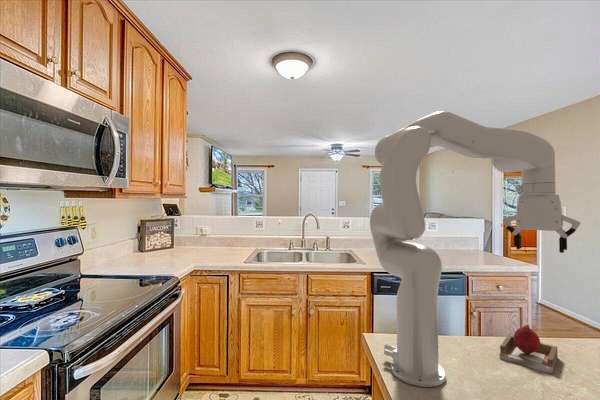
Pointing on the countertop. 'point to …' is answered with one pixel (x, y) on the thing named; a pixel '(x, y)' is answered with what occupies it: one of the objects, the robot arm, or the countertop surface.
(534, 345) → the onion
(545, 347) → the tray
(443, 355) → the countertop surface
